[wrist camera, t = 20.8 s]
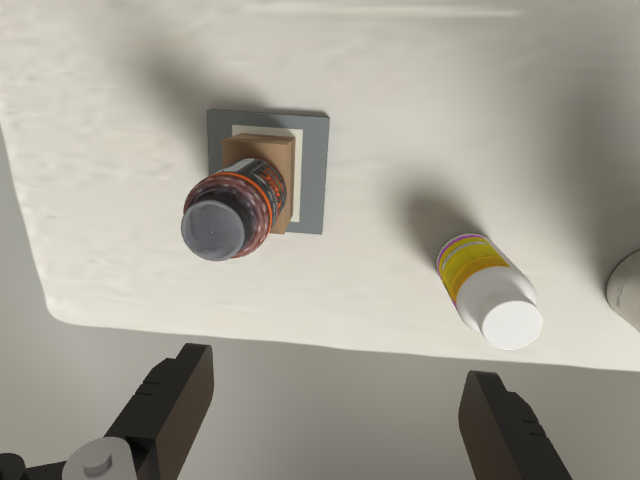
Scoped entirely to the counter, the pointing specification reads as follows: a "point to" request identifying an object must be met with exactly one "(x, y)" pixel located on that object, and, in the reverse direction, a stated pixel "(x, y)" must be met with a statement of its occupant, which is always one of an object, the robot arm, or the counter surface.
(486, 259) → the supplement bottle
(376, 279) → the counter surface
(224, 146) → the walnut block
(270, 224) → the supplement bottle
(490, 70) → the counter surface
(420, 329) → the counter surface
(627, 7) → the counter surface
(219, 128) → the mat
